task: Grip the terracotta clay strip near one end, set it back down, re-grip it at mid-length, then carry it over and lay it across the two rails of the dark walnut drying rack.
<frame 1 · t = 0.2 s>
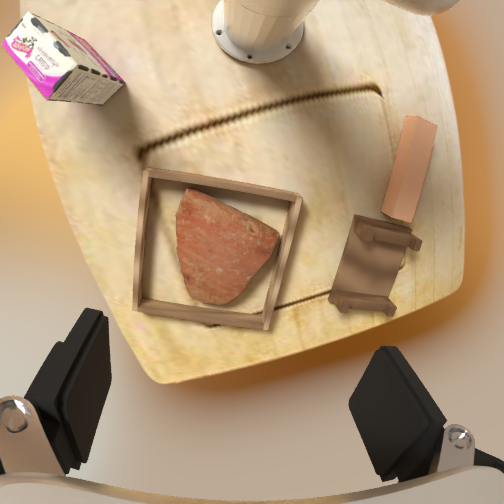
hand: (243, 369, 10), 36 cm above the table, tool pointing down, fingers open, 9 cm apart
clay strip: (402, 166, 45), on the table
ceramic shard: (211, 248, 48), on the table
rack: (369, 263, 51), on the table
low wooden frame: (210, 250, 47), on the table
candy bar box: (93, 72, 36), on the table
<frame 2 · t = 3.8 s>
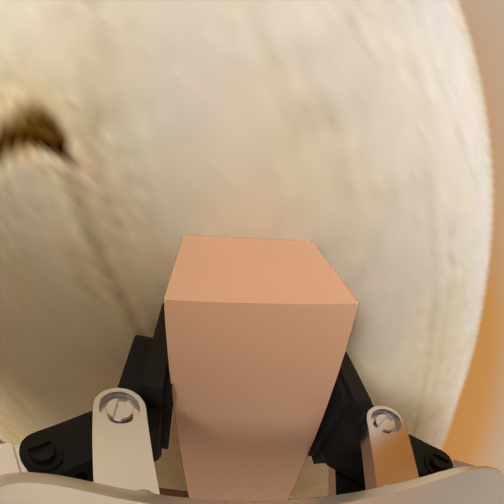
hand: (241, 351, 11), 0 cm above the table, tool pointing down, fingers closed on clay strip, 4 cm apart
clay strip: (235, 409, 13), on the table, touching gripper
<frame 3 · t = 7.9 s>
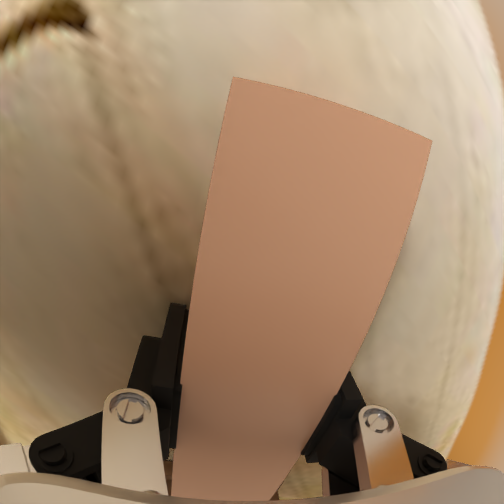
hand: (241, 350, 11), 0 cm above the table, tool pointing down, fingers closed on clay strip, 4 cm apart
clay strip: (240, 341, 11), on the table, touching gripper
when the fingers open (5 cm above the table, at t = 13.2 s): clay strip drops 1 cm, resting on rack.
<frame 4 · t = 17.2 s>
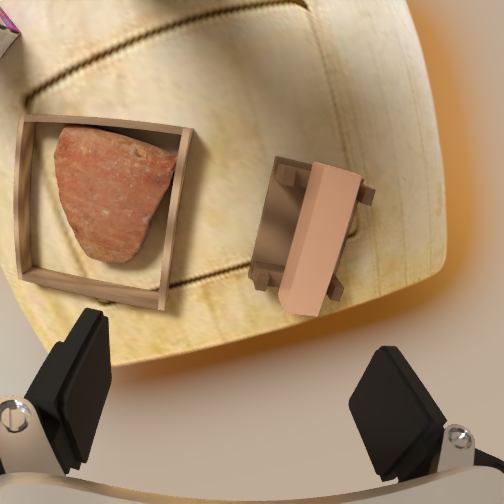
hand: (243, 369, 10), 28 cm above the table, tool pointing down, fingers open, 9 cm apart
clay strip: (311, 234, 35), point 3 cm above the table, touching rack
ceramic shard: (108, 193, 35), on the table, touching low wooden frame
rack: (304, 226, 38), on the table
low wooden frame: (93, 206, 35), on the table
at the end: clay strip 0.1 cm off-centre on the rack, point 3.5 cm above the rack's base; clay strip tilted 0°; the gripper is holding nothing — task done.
